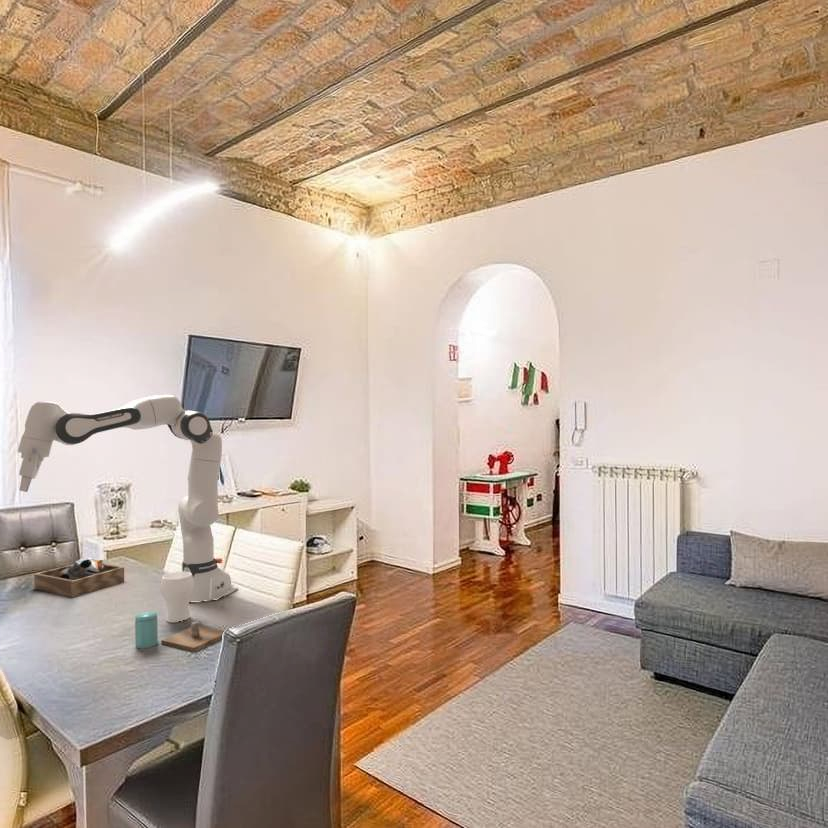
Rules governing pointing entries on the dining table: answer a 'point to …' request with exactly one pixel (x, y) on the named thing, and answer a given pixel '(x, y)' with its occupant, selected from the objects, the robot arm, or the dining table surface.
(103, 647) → the dining table surface
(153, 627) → the teal octagonal jar
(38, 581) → the tray
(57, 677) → the dining table surface
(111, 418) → the robot arm
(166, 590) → the cup
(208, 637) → the square wooden board
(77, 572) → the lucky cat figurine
